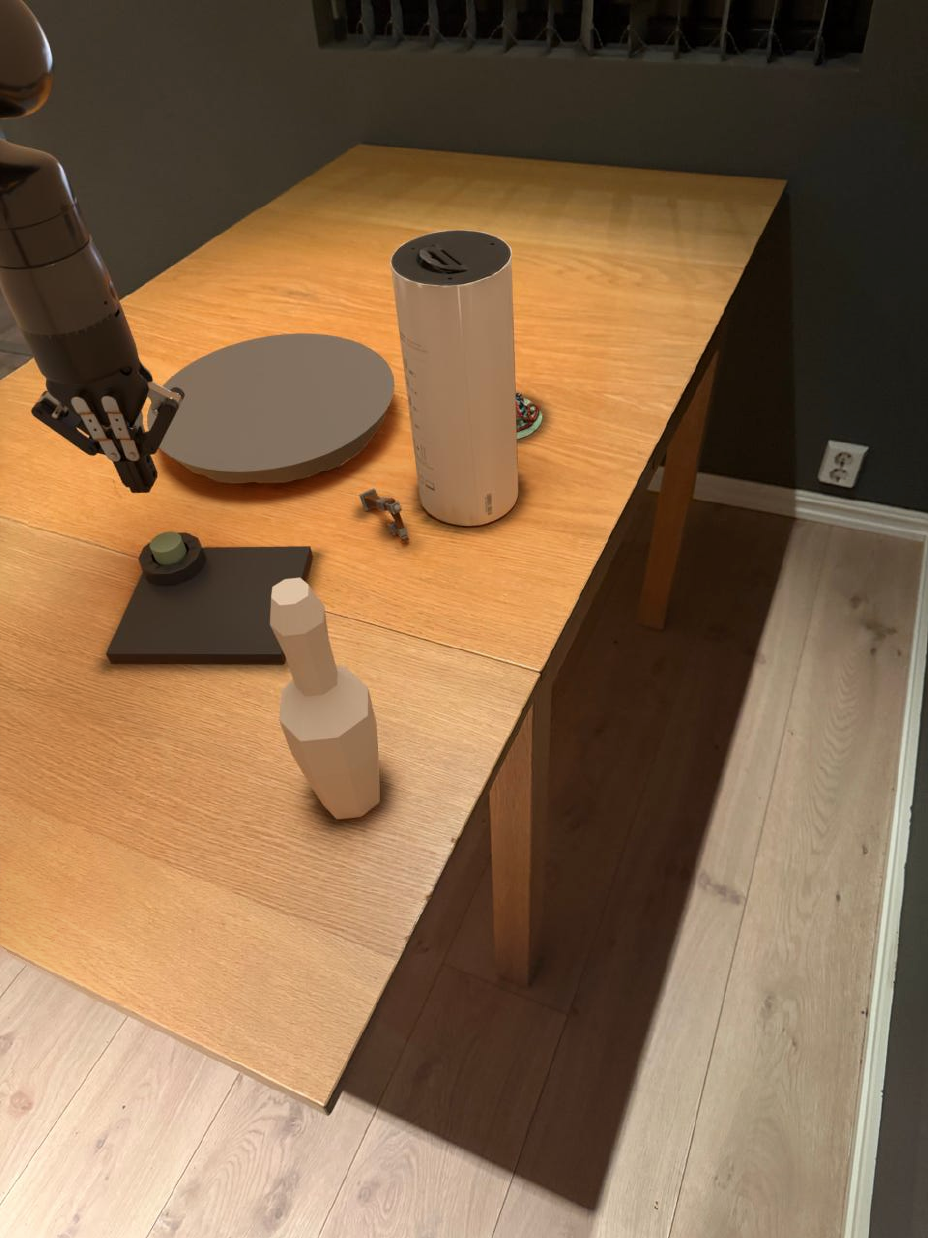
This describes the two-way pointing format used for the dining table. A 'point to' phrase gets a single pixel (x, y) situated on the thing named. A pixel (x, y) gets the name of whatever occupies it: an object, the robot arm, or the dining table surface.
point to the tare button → (168, 548)
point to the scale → (206, 606)
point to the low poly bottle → (324, 707)
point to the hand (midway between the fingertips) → (144, 487)
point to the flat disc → (277, 408)
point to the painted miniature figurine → (526, 416)
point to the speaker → (459, 371)
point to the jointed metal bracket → (372, 500)
